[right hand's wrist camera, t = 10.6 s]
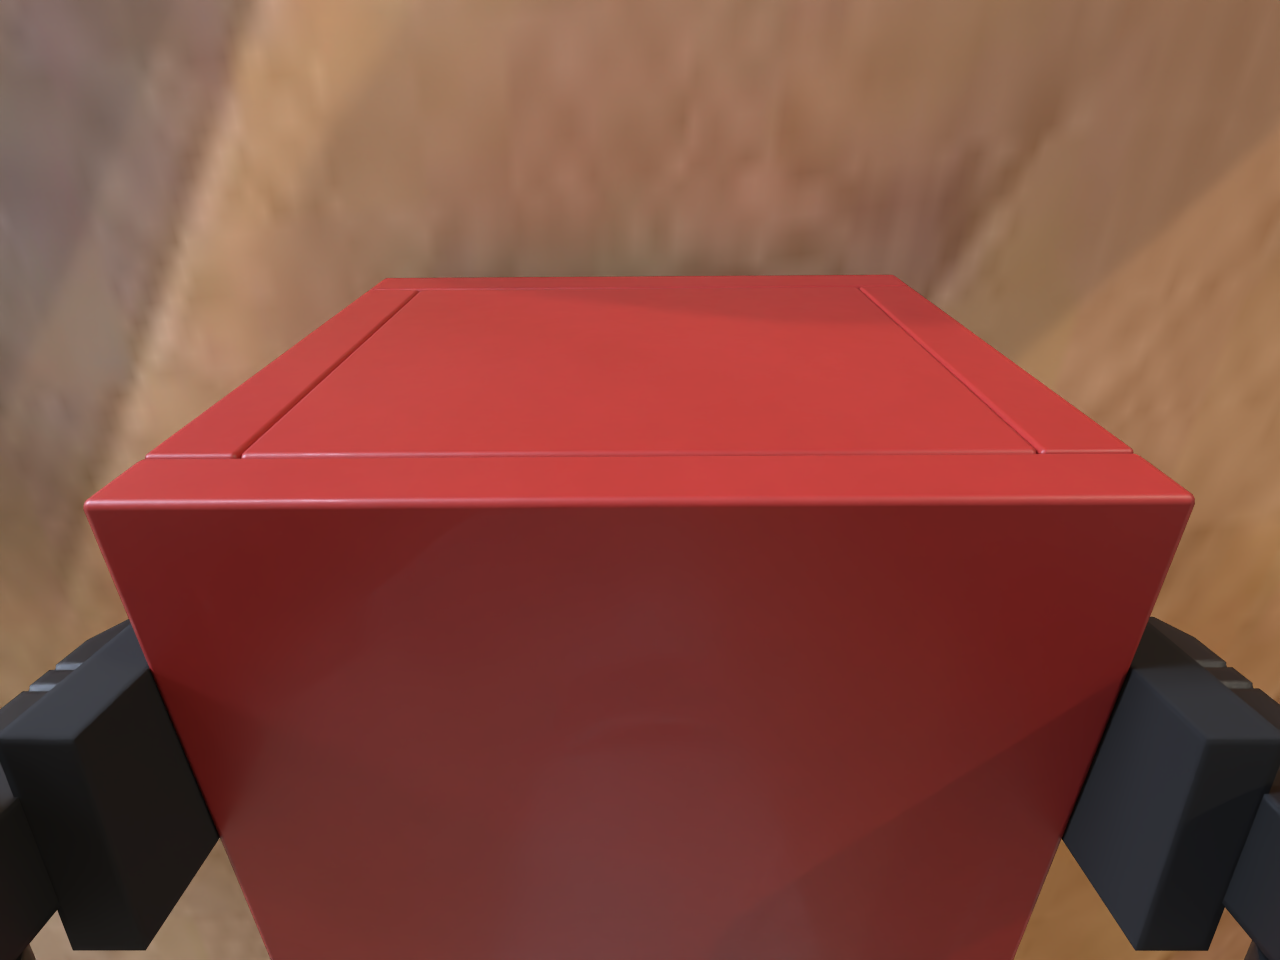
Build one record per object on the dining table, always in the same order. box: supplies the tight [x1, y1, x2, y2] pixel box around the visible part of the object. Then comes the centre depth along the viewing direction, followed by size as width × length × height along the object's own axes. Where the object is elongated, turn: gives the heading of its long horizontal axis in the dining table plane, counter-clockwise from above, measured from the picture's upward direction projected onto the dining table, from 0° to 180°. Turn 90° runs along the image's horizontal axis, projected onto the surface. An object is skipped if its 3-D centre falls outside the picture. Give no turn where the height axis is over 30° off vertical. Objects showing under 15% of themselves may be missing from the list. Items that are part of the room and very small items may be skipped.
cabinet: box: [84, 275, 1195, 960], centre depth 14 cm, size 13×10×9 cm
